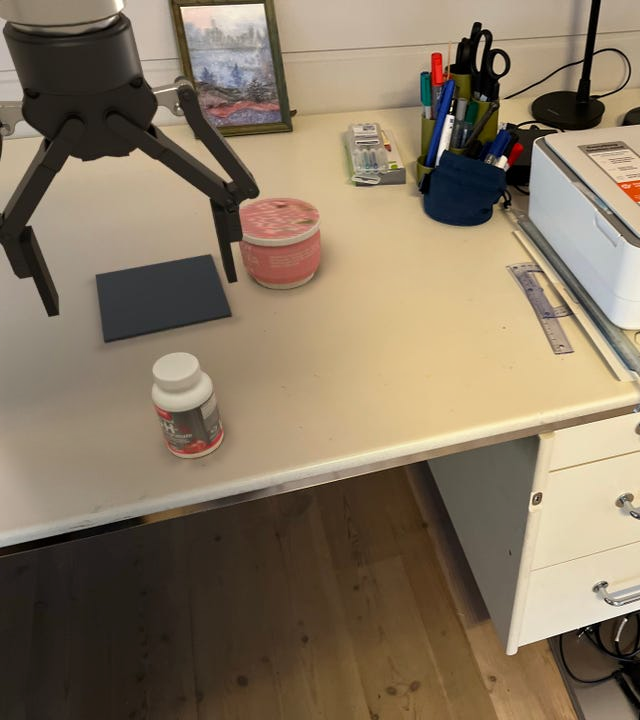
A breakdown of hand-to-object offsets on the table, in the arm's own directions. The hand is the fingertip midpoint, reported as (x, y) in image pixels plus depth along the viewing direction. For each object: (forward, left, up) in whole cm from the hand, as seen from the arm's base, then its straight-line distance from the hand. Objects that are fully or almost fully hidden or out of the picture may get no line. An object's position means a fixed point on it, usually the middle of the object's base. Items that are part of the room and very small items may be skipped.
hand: (145, 290), depth 62 cm
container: (+16, +26, -19) cm, 36 cm away
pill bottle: (+1, 0, -19) cm, 19 cm away
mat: (+1, +26, -18) cm, 32 cm away
